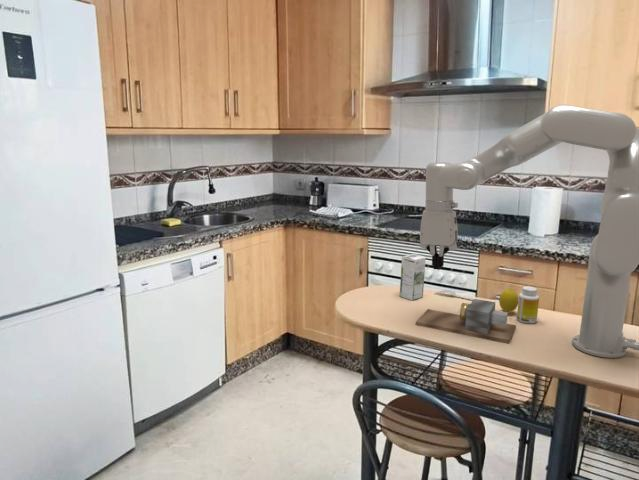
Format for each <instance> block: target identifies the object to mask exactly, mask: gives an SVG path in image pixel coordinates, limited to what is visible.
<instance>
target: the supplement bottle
mask: <svg viewBox="0 0 639 480" xmlns="http://www.w3.org/2000/svg"><path fill="white" fill-rule="evenodd" d="M539 301H540V296H539V295H538V289H537V288H536V287H534V286H523V287H522V290H521V292H520V293H519V294H518V306H517V311H516V315H517V316H516V319H517V320H518V321H519V322H521V323H524V324H535V323H536V322H537V320H538V312H539V305H540V302H539Z"/></svg>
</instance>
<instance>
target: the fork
mask: <svg viewBox="0 0 639 480" xmlns="http://www.w3.org/2000/svg"><path fill="white" fill-rule="evenodd" d="M443 293H448V294H450V295H453V296H456V297H457V298H460V299H465V300H469V301H473V300H474V299H475V298H471V297H464V296H461V295H458V294H456V292H455V291H454V290H452V289H446V290H445V289H444V290H441V291H435V292H434V294H433V295H437V294H443Z"/></svg>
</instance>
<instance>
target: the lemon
mask: <svg viewBox="0 0 639 480" xmlns="http://www.w3.org/2000/svg"><path fill="white" fill-rule="evenodd" d="M518 301H519V294H517V292H516V291H515V290H513V289H512V288H508V289H505V290H503V291H501V294H500V295H499V306H500V308H501V310H503V311H504V312H508V314H509V313H510V312H514V311H515V310H516V309H518Z"/></svg>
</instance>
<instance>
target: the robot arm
mask: <svg viewBox="0 0 639 480" xmlns="http://www.w3.org/2000/svg"><path fill="white" fill-rule="evenodd" d="M561 143H565V144H570V145H575V146H581V147H584V148H585V147H586V148H592V149H596V150H601V151H602V150H603V151H606V152H607V155H608V159H609V164H608V171H607V177H606V178H607V179H606V183H605V187H604V191H603V196H602V199H601V203H600V207H599V208H600V209H599V210H600V211H599V212H600V214H601V218H600V223H599V229H598V234H596V235H595V236H594V237H593V238H592V240H591V242H590V247H589V253H588V267H587V274H586V275H587V276H586V285H585V291H584V296H583V298H584V299H583V305H582V306H583V307H582V313H581V314H582V315H581V321H580V327H579V328H580V329H579V334H577V335H574V336H573V337H572V339H571V344H572V346H573V347H575V348H576V349H577V350H579V351H581V352H582V353H585V354H588V355H591V356H596V357H601V358H609V359H617V358H618V359H619V358H622V357H625V356H626V355H627V351H628V349H632V350H636V351H639V342H637V340H636V339H633V338H626V336H624V332H623V329H624V324H625V317H626V311H627V304H628V298H629V292H630V286H631V277H632V272H634V271H635V270H636V269H637V267H638V266H639V127H637V126H636V123H635V122H634V120H633V119H632V118H631V117H630V116H628V115H627V114H625V113H619V112H614V111H607V110H605V111H604V110H600V109H594V108H593V109H592V108H586V107H585V108H584V107H580V106H575V105H570V104H558V105H555V106H553V107H552V108H551V109H549V110H548V111H546V112H545V113H542V115H539V116H538V117H536V118H534V119H532V120H531V121H529V122H528V123H525V124H523V125H522V126H520V127H518V128H516V129H515V130H513V131H511V132H510V133H508V134H507V135H504V136H503V137H502V139H500V140H499V141H498V142H497V143H496V144H494V145H493V146H491V147H489V148H487V149H485V150H484V151H483V152H481V153H479V154H477V155H476V156H473V157H472V158H470V159H468V160H466V161H462V162H458V163H450V162H447V161H446V162H429V163H428V164H427V165H426V168H425V209H424V210H423V211H422V215H421V220H420V228H419V229H420V231H419V247H420V248H422V249H424V250H427V251H428V253H429V254H430V256H431V266H433V270H437V271H440V270H441V269H442V268H443V267H444V263H445V262H444V260H445V258H444V257H445V255H446V254H447V253H448V252H450V251H451V252H453V251H456V250H458V245H457V243H458V241H459V240H458V237H459V235H458V234H459V233H458V219H457V218H458V217H457V212H456V210H453V209H457V208H458V207H459V203H458V202H454V200H453V199H454V196H453V195H454V190H462V191H468V190H472V189H475V188H476V187H477V186H479V185H481V184H482V183H484V182H486V181H487V180H489V179H491V178H492V177H495V176H496V175H498V174H500V173H503V172H504V171H506V170H508V169H510V168H512V167H516V166H520V165H521V164H523V163H527V162H528V161H529V160H531V159H533V158H535V157H538V156H539V155H540V154H542V153H544V152H546V151H548V150H550V149H552V148H554V147H556V146H557V145H560V144H561ZM438 247H439V251H438Z"/></svg>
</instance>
